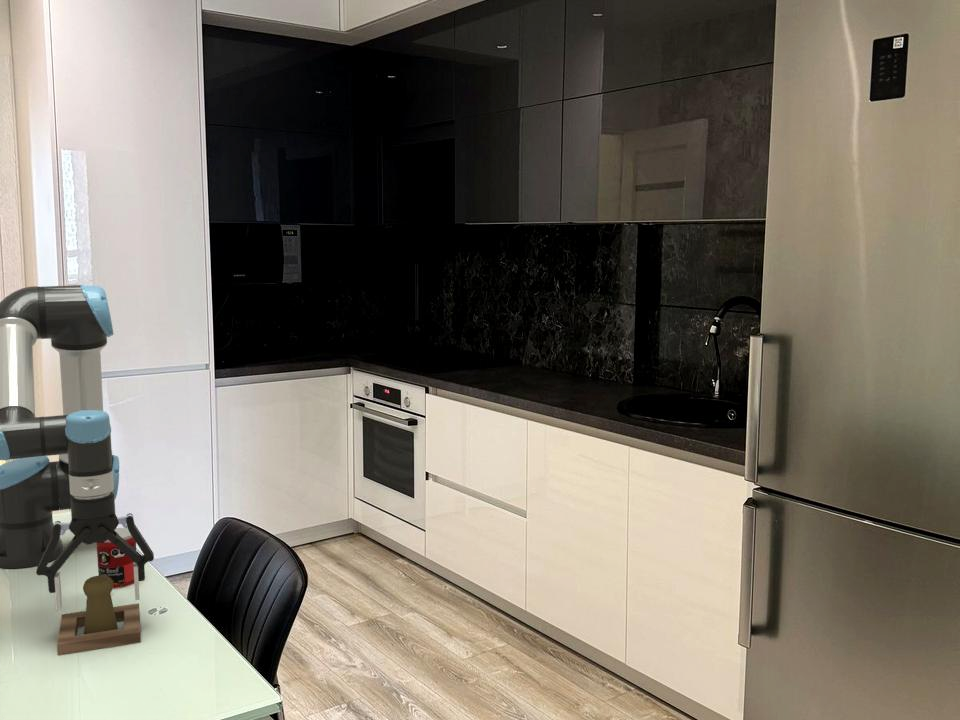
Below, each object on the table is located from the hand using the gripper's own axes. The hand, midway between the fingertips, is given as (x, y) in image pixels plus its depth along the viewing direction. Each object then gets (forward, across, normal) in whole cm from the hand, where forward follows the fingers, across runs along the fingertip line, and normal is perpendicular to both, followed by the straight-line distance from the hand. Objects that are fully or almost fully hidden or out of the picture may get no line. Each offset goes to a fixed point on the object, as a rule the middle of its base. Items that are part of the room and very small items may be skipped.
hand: (99, 602), depth 167 cm
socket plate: (+6, 0, 0) cm, 6 cm away
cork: (+6, 0, 0) cm, 6 cm away
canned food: (+6, +3, +26) cm, 27 cm away
